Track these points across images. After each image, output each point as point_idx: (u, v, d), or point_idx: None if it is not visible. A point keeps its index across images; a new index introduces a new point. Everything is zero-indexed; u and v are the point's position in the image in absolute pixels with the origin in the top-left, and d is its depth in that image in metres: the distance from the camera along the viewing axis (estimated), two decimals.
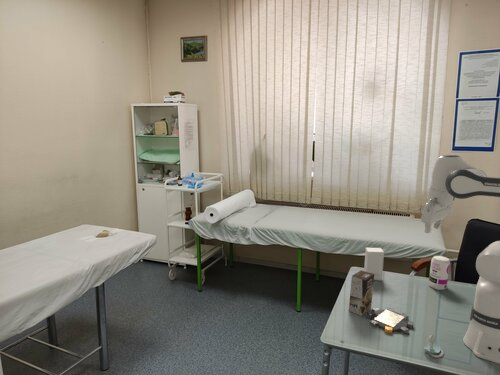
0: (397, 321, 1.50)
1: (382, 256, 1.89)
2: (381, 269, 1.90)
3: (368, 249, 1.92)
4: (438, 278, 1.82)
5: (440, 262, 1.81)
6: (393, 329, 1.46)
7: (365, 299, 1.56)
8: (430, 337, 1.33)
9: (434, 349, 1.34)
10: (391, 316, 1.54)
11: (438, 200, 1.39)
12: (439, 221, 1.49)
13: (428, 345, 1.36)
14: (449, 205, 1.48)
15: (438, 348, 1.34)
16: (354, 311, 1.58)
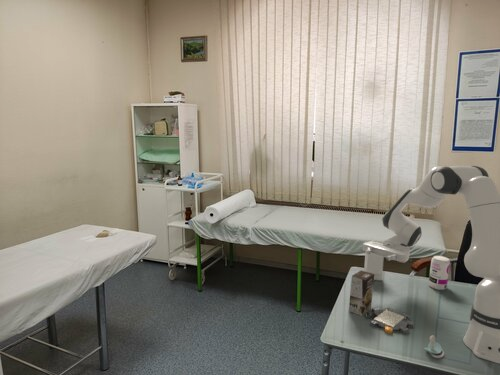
0: (397, 321, 1.50)
1: None
2: (381, 269, 1.90)
3: None
4: (438, 278, 1.82)
5: (440, 262, 1.81)
6: (393, 329, 1.46)
7: (365, 299, 1.56)
8: (431, 337, 1.32)
9: (435, 349, 1.33)
10: (391, 316, 1.54)
11: None
12: None
13: (429, 345, 1.35)
14: (404, 250, 1.67)
15: (439, 348, 1.33)
16: (354, 311, 1.58)
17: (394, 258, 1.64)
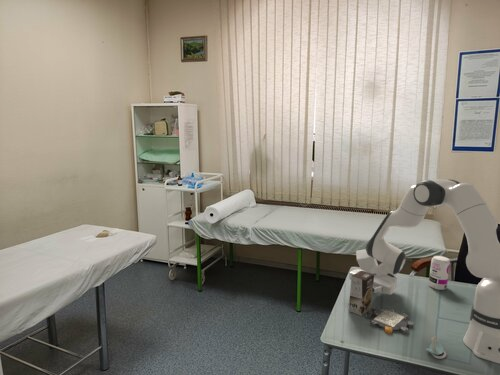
0: (397, 321, 1.50)
1: (372, 260, 1.84)
2: None
3: (358, 254, 1.87)
4: (438, 278, 1.82)
5: (440, 262, 1.81)
6: (393, 329, 1.46)
7: (365, 299, 1.56)
8: (433, 338, 1.32)
9: (437, 350, 1.33)
10: (391, 316, 1.54)
11: None
12: None
13: (431, 346, 1.35)
14: (390, 281, 1.64)
15: (441, 349, 1.33)
16: (354, 311, 1.58)
17: (380, 290, 1.61)
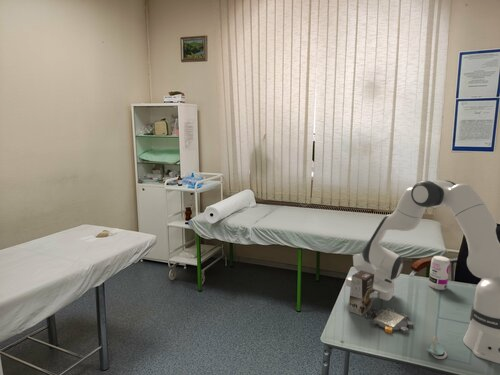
0: (397, 321, 1.50)
1: (369, 266, 1.81)
2: None
3: (354, 260, 1.85)
4: (438, 278, 1.82)
5: (440, 262, 1.81)
6: (393, 329, 1.46)
7: (365, 299, 1.56)
8: (434, 338, 1.32)
9: (437, 350, 1.33)
10: (391, 316, 1.54)
11: None
12: None
13: (431, 346, 1.35)
14: (388, 287, 1.61)
15: (442, 350, 1.33)
16: (354, 311, 1.58)
17: (376, 295, 1.58)
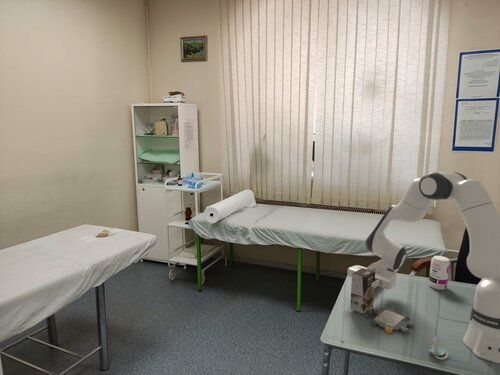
0: (397, 321, 1.50)
1: None
2: None
3: None
4: (438, 278, 1.82)
5: (440, 262, 1.81)
6: (393, 329, 1.46)
7: (366, 296, 1.56)
8: (435, 339, 1.32)
9: (439, 351, 1.32)
10: (391, 316, 1.54)
11: None
12: None
13: (433, 347, 1.34)
14: (390, 276, 1.60)
15: (443, 350, 1.32)
16: (355, 309, 1.58)
17: (377, 284, 1.57)
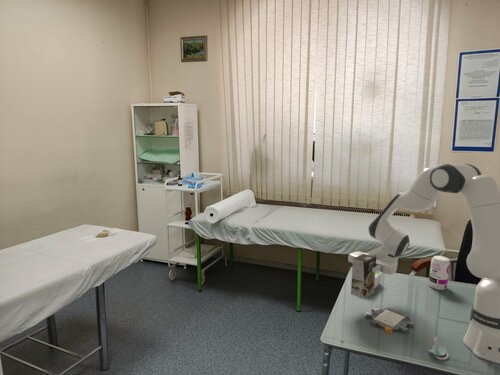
0: (397, 321, 1.50)
1: None
2: None
3: None
4: (438, 278, 1.82)
5: (440, 262, 1.81)
6: (393, 329, 1.46)
7: (367, 281, 1.55)
8: (435, 339, 1.31)
9: (439, 351, 1.32)
10: (391, 316, 1.54)
11: None
12: None
13: (433, 347, 1.34)
14: (391, 262, 1.59)
15: (443, 350, 1.32)
16: (356, 294, 1.57)
17: (378, 269, 1.56)
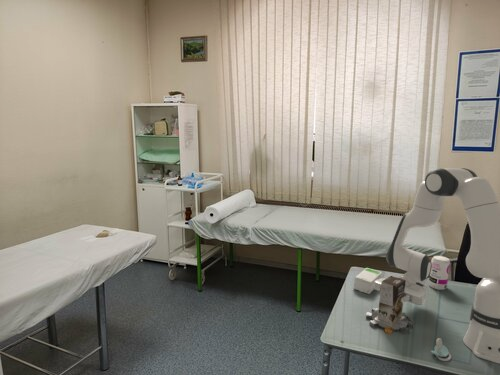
0: (397, 321, 1.50)
1: None
2: None
3: (355, 283, 1.79)
4: (438, 278, 1.82)
5: (440, 262, 1.81)
6: (393, 329, 1.46)
7: (395, 306, 1.47)
8: (438, 340, 1.31)
9: (442, 352, 1.32)
10: None
11: None
12: None
13: (435, 348, 1.34)
14: (420, 291, 1.51)
15: (446, 351, 1.32)
16: (384, 319, 1.50)
17: (407, 299, 1.49)
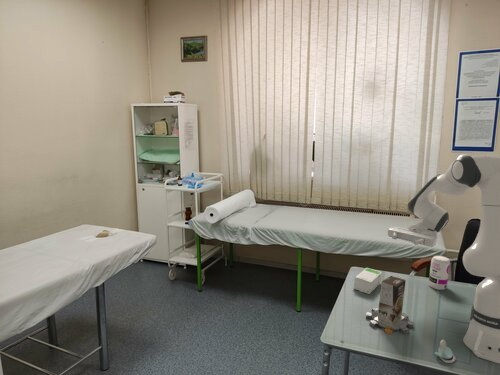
0: (397, 321, 1.50)
1: None
2: None
3: (355, 283, 1.79)
4: (438, 278, 1.82)
5: (440, 262, 1.81)
6: (393, 329, 1.46)
7: (395, 306, 1.47)
8: (442, 342, 1.30)
9: (446, 354, 1.31)
10: None
11: None
12: None
13: (439, 350, 1.33)
14: (431, 235, 1.63)
15: (450, 353, 1.31)
16: (384, 319, 1.50)
17: (422, 242, 1.60)
